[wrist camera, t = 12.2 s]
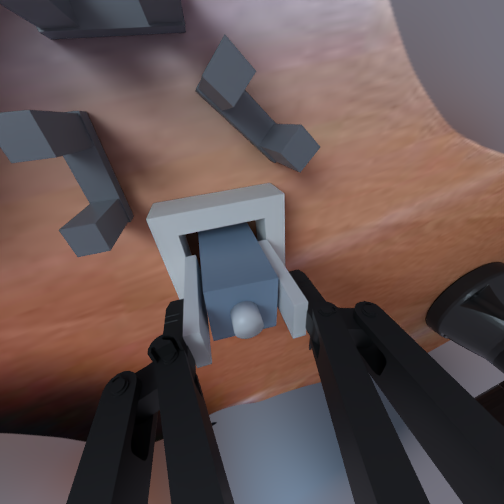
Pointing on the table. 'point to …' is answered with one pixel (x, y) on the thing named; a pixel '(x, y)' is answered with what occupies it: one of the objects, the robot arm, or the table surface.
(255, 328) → the connector
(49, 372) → the table surface
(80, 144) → the clip
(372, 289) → the table surface
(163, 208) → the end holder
